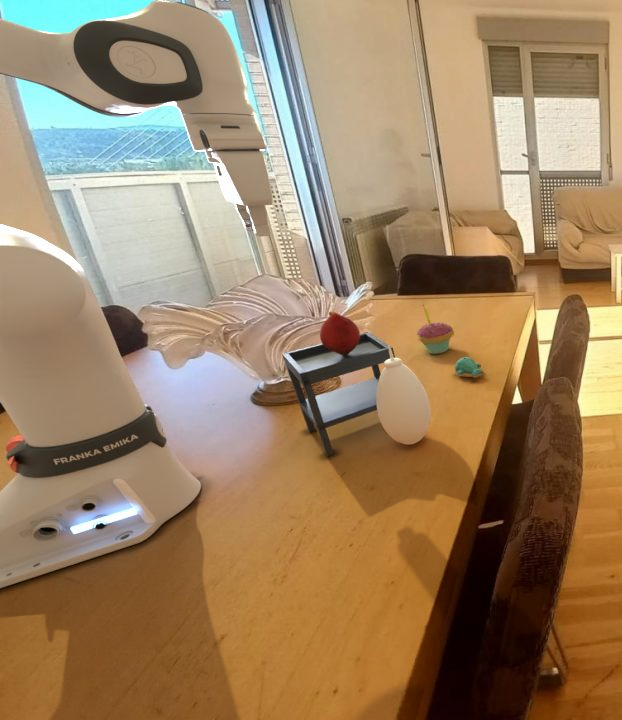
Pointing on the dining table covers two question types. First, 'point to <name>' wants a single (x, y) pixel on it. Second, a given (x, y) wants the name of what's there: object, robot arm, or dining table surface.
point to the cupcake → (435, 335)
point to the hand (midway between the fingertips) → (257, 233)
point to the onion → (339, 334)
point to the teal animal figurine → (468, 368)
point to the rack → (328, 364)
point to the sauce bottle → (402, 402)
